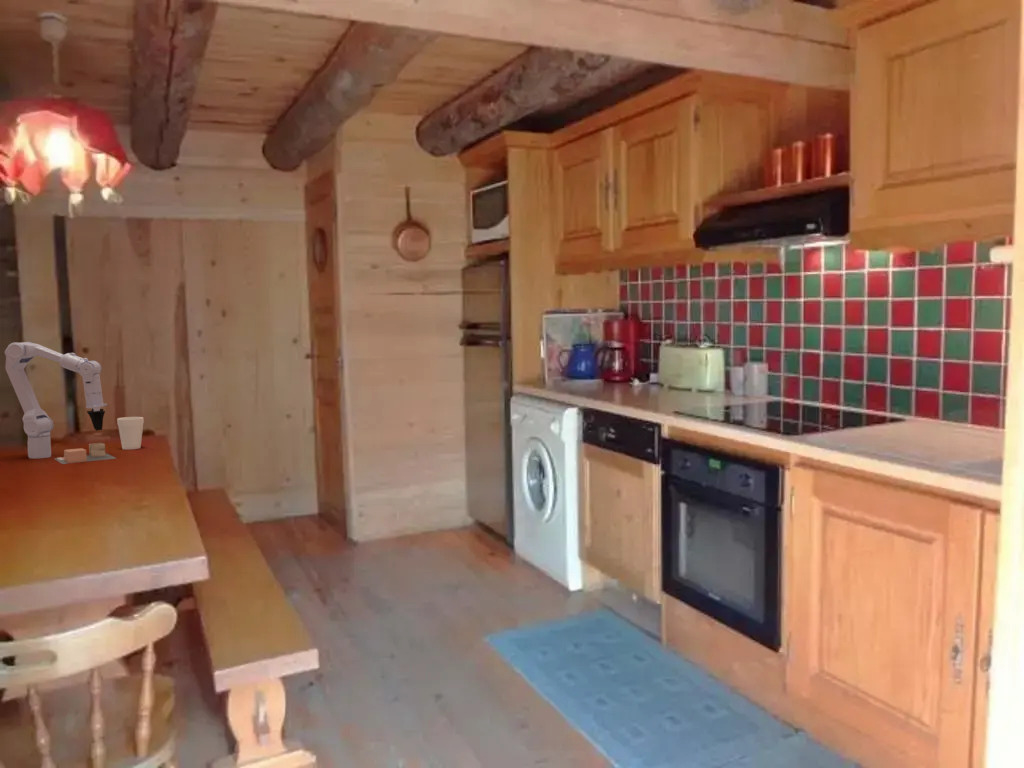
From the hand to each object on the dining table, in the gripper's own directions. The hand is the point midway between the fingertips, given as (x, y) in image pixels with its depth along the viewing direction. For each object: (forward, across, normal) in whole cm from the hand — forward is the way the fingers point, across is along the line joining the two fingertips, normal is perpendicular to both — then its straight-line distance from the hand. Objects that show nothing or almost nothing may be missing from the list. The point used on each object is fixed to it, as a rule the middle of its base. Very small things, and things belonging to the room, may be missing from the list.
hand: (98, 429), depth 297 cm
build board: (+11, -1, +6) cm, 12 cm away
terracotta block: (+10, -6, +9) cm, 14 cm away
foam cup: (+12, +16, -12) cm, 23 cm away
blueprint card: (+9, +2, +11) cm, 14 cm away
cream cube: (+10, +3, +1) cm, 11 cm away
